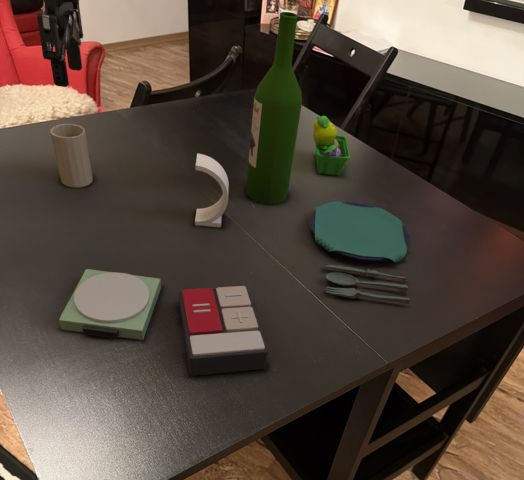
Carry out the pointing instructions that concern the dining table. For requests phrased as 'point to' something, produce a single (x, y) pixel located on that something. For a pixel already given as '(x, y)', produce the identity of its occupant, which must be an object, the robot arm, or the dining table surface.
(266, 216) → the dining table surface
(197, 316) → the calculator
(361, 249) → the cutlery set
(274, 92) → the wine bottle
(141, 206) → the dining table surface
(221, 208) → the headphone stand
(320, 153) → the fruit basket
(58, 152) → the cream cup
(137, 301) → the scale
